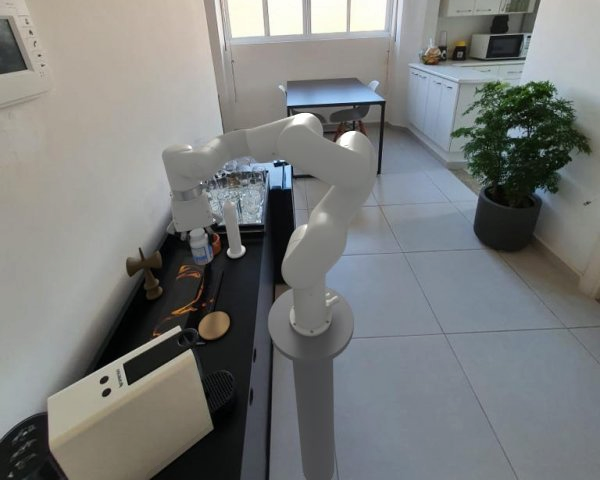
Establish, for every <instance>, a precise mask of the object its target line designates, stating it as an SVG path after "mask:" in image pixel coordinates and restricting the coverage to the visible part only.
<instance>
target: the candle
mask: <svg viewBox="0 0 600 480" xmlns="http://www.w3.org/2000/svg"><path fill="white" fill-rule="evenodd" d="M221 207H222V213H223V220H224V224H225V230H226V235H227V240H228V246H229V248H228V249H227V251H226V255H227V256H228V257H229V258H231V259H239V258H241V257H242V256H244V255H245V253H246V247H245V246H244V245H242V240H241V233H240V228H239V222H238V215H237V209H236V204H235V202H233V201H230V198H229V196H226V199H225V202H224V203H223V204H222V205H221Z"/></svg>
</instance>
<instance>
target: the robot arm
mask: <svg viewBox="0 0 600 480" xmlns="http://www.w3.org/2000/svg"><path fill="white" fill-rule="evenodd" d="M323 127H324V126H323V124H322V122H321V120H320V119H319V118H318V117H317V116H315V115H314V114H313V113H308V112H304V113H303V112H302V113H298V114H295V115H290V116H288V117H284V118H282V119H278V120H275V121H272V122H269V123H266V124H262V125H259V126H256V127H252V128H242V129H235V130H233V131H228V132H226V133H222V134H220V135H217V136H214V137H212V138H210V139H208V140H206V141H205V142H204V143H203V144H201V145H200V146H199V147H198V148H196V149H194V148H193V147H192V146H191V145H189V144H188V143H187V144H186V143H178V144H177V143H176V144H173V145H170V146H167V147H166V148H165V149H163V150H162V153H161V158H162V159H161V160H162V163H163V166H164V170H165V174H166V178H167V181H168V184H169V185H168V186H169V189H170V192H171V196H170V209H171V215H172V220H171V221H170V223H169V224H168V226H167V228H166V233H168V234H170V235H173V236H174V237H176V238H179V239H180V240H181V241H182V243H183V247H184V248H185V249H187V253H188V252H192V251H191V247H190V243H189V242H190V239H191V238H190V234H188V231H192V230H194V229H199V228H203V229H204V228H205V231H207V233H208V239H209V243H210V246H213V241H215V239H214V234H213V233H215V231H216V229H217V228H218V227H219V225H220V224H222V222H223V221H224V216H222V215H220V214H219V213H217V212H216V211H214V210H213V207H212V204H211V201H210V197H209V195H208V192H207V191H206V189H208V183H207V181H209V180H211V179H213V178H214V177H215V176H216V175H217V174H218V173H219V172H220V171H221V170H222V169H223V167H225V166H226V164H227V163H228V162H231V161H234V160H236V159H237V160H238V159H241V158H245V157H252V158H253V160H254V161H255V162H256V163H259V164H266V163H270V162H273V161H276V160H281V159H282V160H283V161H284V162H285V163H287V164H288V165H290V166H292V167H293V168H295V169H297V170H298V171H301V172H303V173H305V174H307V175H309V176H312V177H314V178H316V179H319V180H321V181H323V182H325V183H327V184H329V185H331V187H330V188H329V189H328V190H327V192H326V194H325V195H324V196H323V197H322V198H321V200H320V201H319V202H318V203H317V205H316V206H315V207H314V208H313V209H312V211H311V213H310V216H309V218H308V222H307V223H304V224H301V225H299V226H298V227H297V228H296V229H294V231H293V232H292V234H291V236H290V238H289V241H288V243H287V247H286V251H285V253H284V257H283V260H282V263H281V270H280V271H281V276H282V278H283V281H284V282H285V284H287V285H288V287H291V288H292V291H293V303H294V306H293V307H292V308H291V311H290V315H289V318H290V324H291V326H292V328H293V329H294V330H295V331H296V332H297V333H299V334H301V335H303V336H310V337H312V336H317V335H320V334H322V333H324V332H325V331H326V330H327V329H328V328H329V326H330V324H331V321H332V313H331V310H330V308H332V306H333V305H335V304H337V303H338V302H339V298H338V297H337V296H335V297H333V298H332V299H331V300H327V299H329V298H331V296H330V294H329V293H328V294H326V287H327V274H328V273H329V271H330V270H331V269H332V268H333V267H334V266H335V265H336V264H337V263H338V261H339V260H340V259H341V258H342V256H343V254H344V252H345V250H346V247H347V241H348V231H349V226H350V224H351V221H353V219H354V218H355V216H356V215H357V214H358V213H359V211H360V210H361V208H362V207H363V206H364V205H365V203H366V202H367V201H368V199H369V197H370V196H371V194H372V192H373V189H374V187H375V184H376V181H377V175H378V158H377V154H376V150H375V148H374V146H373V144H372V142H371V141H370V139H369V138H368V137H367V136H366V135H365V134H363V132H360V131H357V130H352V131H347V132H345V133H343V134H342V135H341V136H340V137H338V138H337V139H336V141H335V142H334V141H332V140H330V139H328V138H326V137H324V129H323ZM205 182H206V183H205Z"/></svg>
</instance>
